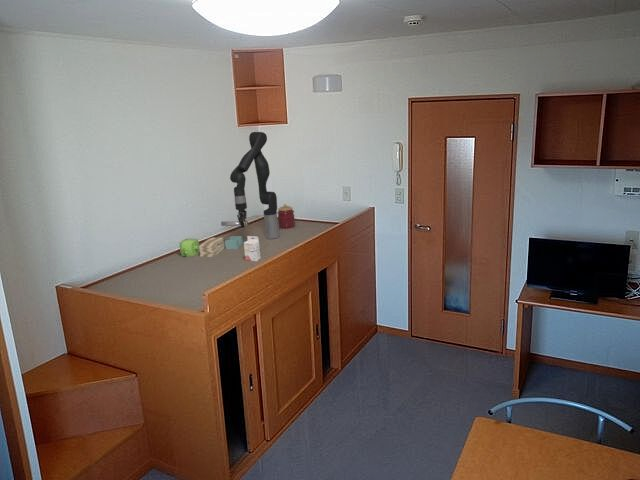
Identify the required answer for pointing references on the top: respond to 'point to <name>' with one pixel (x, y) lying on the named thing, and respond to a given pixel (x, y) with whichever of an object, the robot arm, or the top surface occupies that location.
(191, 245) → the green cube pot
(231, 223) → the axle
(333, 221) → the top surface
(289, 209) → the canister
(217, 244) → the beam
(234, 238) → the v block
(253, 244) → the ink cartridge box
